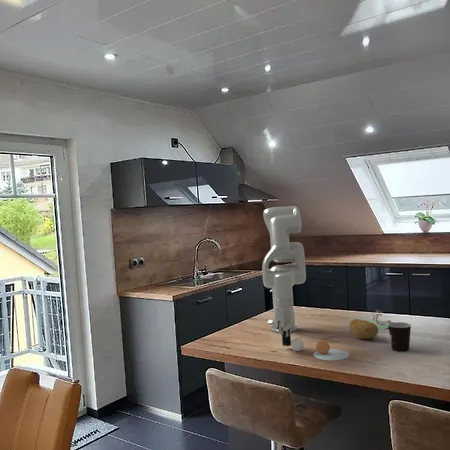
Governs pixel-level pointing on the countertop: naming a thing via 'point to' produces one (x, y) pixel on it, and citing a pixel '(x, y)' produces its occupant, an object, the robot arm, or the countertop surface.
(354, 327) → the potato
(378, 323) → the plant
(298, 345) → the cue ball
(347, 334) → the countertop surface
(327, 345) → the object ball
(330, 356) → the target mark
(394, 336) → the coffee mug
